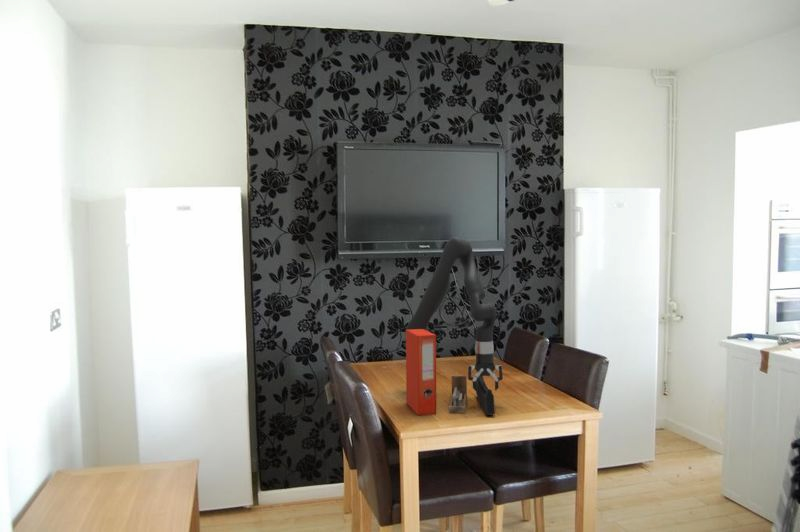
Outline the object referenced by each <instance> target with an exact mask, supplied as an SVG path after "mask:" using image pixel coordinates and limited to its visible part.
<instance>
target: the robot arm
mask: <svg viewBox="0 0 800 532" xmlns="http://www.w3.org/2000/svg"><path fill="white" fill-rule="evenodd" d="M474 257H475V256H474V250H473V247H472V245H471V243H470V242H469V241H467V240H465V239H462V238H460V237H458V236H457V237H456V236H454V237H451V238H450V239H448V241H447V242H446V243H445V246H444V248H443V250H442V254H441V256H440V258H439V261H438V263H437V265H436V268H435V270H434V273H433V274H432V277H431V279H430V280H429V282H428V285H427V286H426V289H425V290H424V292H423V293H424V294H423V295H422V297H421V299H420V302H419V304H418V307H417V309H416V311H415V313H414V314H413V316H412V318H411V319H410V320H409V322H408V324H407V326H406V327H405V332H404V333H405V335H406V330H410V329H424V330H426V331H428V332H430V328H429V323H430V321H431V319H432V317H433V315H434V314H435V313H436V312H437V311H438V309H439V308H440V306H441V305H442V304H443V302H444V300H445V299H446V296H447V294H448V292H449V290H450V284H451V271H452V269H453V266H454V264H455V262H456V260H458V261H459V262H460V264H461V266H462V268H463V275H464V277H463V283H464V287H465V291H466V293H467V295H468V300H469V307H470V308H469V310H470V311H469V312H470V315H471V318H472V319H473V321H475V322H483V323H482V324H481V325H479V326H477V327H476V328H475V346H474V347H475V348H474V349H475V365H471V364H469V365H468V371H467V372H468V373H467V380H468V381H472V389H473V390H474V391H476V379H477V378H478V377H479V375H481V376H483V377H484V376H486V377H489V376H491V377H492V378H493V380H494V390H495V391H497V390H498V389H499V382H500V381H502V380H503V366H502V364H499V365H498V364H497V365H495V353H494V352H495V349H494V334H493V331H494V327H495V322H496V318H497V310H496V307H495V305H494V304H493V303H480V302H481V301H483V300H484V299H485V298H486V292H485V289H484V287H483V285H482V281H481V279H480V277H479V273H478V270H477V266H476V261H475V258H474ZM474 370H475V371H476V373H475V375H473V376H472V371H474ZM495 370H497V371H498V375H499V376H497V375H496V373H495V372H494V371H495Z"/></svg>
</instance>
